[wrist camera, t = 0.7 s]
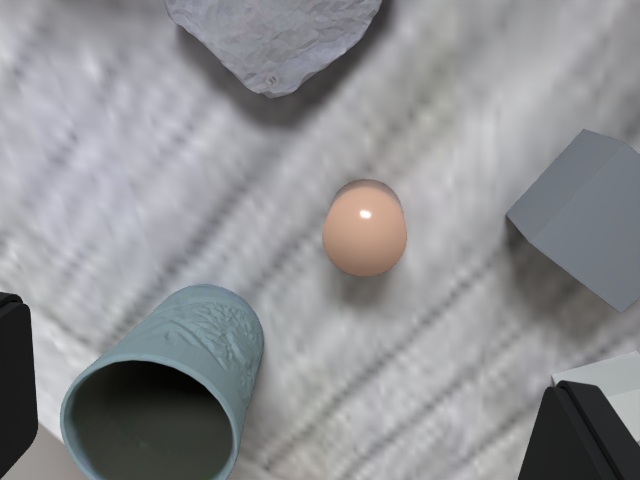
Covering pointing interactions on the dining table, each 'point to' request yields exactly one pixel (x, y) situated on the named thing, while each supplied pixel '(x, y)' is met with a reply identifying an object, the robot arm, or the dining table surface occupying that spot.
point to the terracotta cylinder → (365, 228)
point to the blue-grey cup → (168, 392)
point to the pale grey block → (613, 385)
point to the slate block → (589, 216)
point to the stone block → (275, 36)
